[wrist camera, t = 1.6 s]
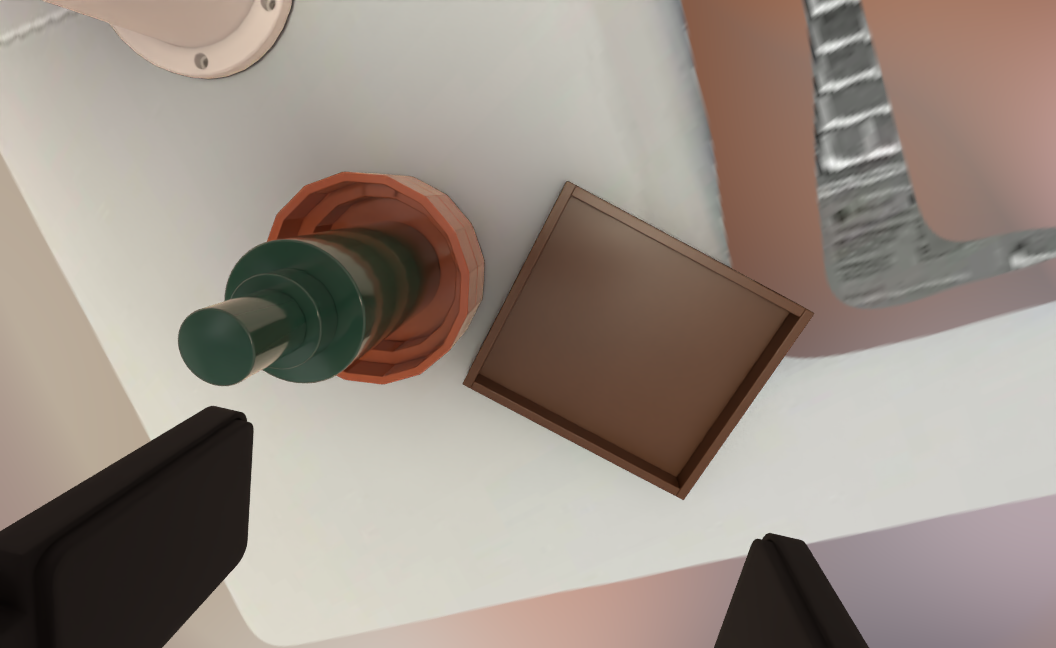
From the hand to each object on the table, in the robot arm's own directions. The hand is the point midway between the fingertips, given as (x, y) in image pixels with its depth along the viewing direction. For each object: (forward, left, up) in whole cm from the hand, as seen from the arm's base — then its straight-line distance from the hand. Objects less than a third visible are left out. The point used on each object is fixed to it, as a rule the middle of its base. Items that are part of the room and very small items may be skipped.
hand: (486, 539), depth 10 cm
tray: (+6, -1, -25) cm, 26 cm away
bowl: (-10, -4, -25) cm, 28 cm away
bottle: (-10, -4, -25) cm, 27 cm away
